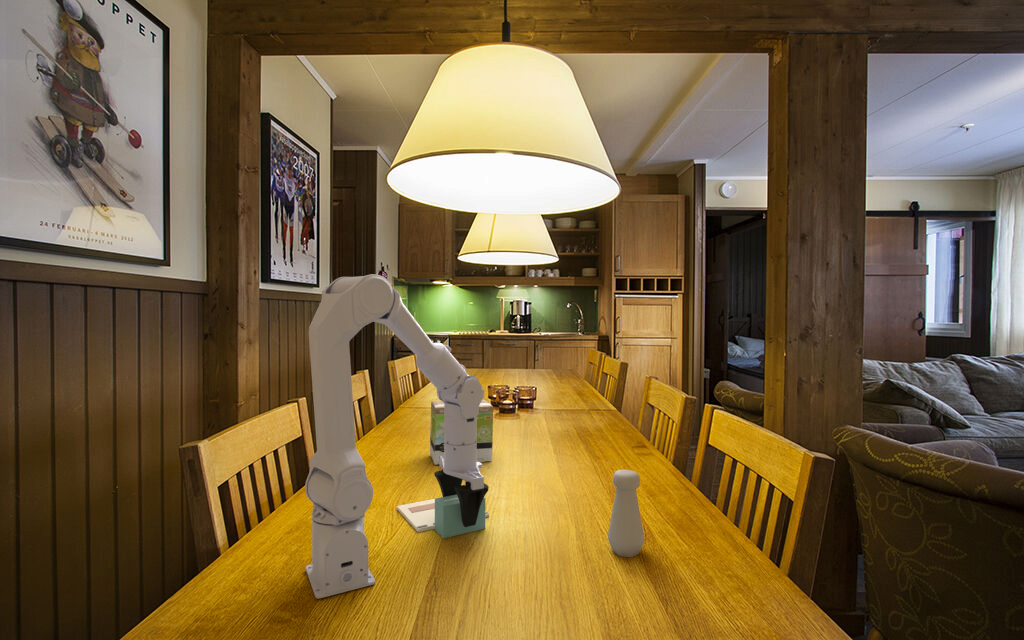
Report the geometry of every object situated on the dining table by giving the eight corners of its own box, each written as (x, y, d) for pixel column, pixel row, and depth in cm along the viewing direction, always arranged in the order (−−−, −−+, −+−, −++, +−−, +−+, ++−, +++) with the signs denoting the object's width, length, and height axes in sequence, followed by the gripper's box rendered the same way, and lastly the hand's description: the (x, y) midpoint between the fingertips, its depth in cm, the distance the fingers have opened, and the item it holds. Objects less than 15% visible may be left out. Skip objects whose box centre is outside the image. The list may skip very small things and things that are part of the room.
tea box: (434, 466, 127) (434, 407, 127) (429, 455, 137) (429, 400, 137) (493, 462, 131) (493, 404, 131) (484, 451, 141) (485, 398, 141)
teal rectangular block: (485, 528, 91) (485, 497, 91) (443, 538, 87) (443, 505, 87) (475, 520, 95) (475, 490, 95) (434, 529, 91) (434, 498, 91)
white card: (489, 516, 97) (489, 512, 97) (417, 532, 90) (417, 528, 90) (462, 496, 107) (462, 492, 107) (396, 509, 100) (396, 505, 100)
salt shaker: (618, 539, 87) (619, 463, 87) (650, 550, 84) (651, 470, 83) (601, 552, 83) (601, 472, 82) (633, 563, 79) (634, 480, 79)
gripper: (500, 448, 86) (499, 527, 87) (463, 430, 99) (463, 499, 99) (461, 453, 83) (461, 537, 83) (429, 434, 96) (429, 506, 96)
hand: (460, 517), depth 91 cm, fingers open, 7 cm apart
